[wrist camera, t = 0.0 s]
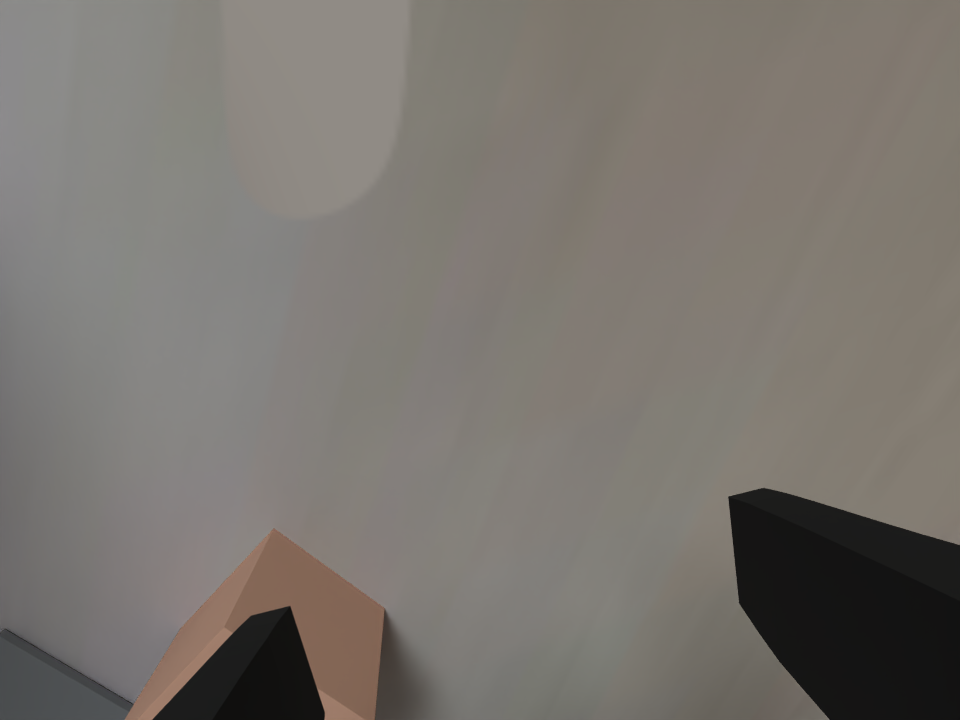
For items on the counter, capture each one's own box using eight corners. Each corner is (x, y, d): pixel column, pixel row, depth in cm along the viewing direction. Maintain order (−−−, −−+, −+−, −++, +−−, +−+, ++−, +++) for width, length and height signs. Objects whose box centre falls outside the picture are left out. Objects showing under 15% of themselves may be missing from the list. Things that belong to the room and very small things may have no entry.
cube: (384, 607, 20) (374, 725, 15) (295, 699, 20) (256, 844, 15) (274, 527, 19) (223, 626, 14) (181, 627, 19) (100, 758, 14)
